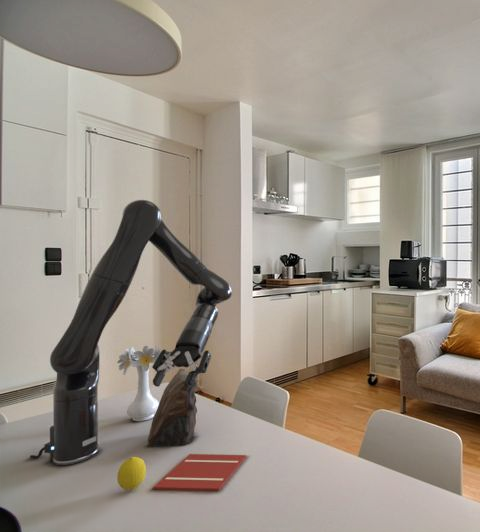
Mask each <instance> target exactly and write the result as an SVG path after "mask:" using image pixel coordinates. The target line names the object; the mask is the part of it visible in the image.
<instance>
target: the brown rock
mask: <svg viewBox="0 0 480 532" xmlns="http://www.w3.org/2000/svg"><path fill="white" fill-rule="evenodd" d="M189 372H190V371H186V369H185V368H179V370H178V371H177V372H176V373H175V375H174V376H173V377H172V379H170V381H169V383H168V384H167V385H166V387H165V388H164V390H163V393H162V395H161V398H160V401H159V406H158V408H157V411H156V412H155V413H154V416H153V417H152V421H151V425H150V429H149V434H148V437H147V446H146V447H147V448H149V447H151V448H152V447H165V446H166V447H172V446H178V447H179V446H186V445H189V444H191V443H192V442H193V441H194V440H195V439H196V436H194V433H195V428H196V425H197V413H198V408H197V405H196V403H197V397H196V388H197V380H196V379H197V377H198V375H197V376H196V378H195V381H194V383H193V384H192V385H191V386H190V387H186V386H185V385H184V383H185V380H186V378H187V376H188V374H189Z"/></svg>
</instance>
